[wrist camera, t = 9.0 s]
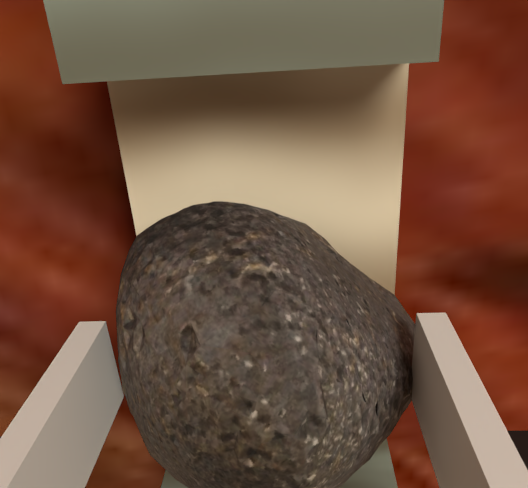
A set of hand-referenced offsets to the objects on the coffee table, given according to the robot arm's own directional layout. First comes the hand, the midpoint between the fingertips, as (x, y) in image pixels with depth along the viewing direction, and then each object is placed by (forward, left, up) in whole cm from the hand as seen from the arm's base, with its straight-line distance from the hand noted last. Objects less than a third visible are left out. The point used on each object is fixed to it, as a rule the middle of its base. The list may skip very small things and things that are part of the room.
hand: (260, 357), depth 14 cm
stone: (+1, 0, -3) cm, 3 cm away
